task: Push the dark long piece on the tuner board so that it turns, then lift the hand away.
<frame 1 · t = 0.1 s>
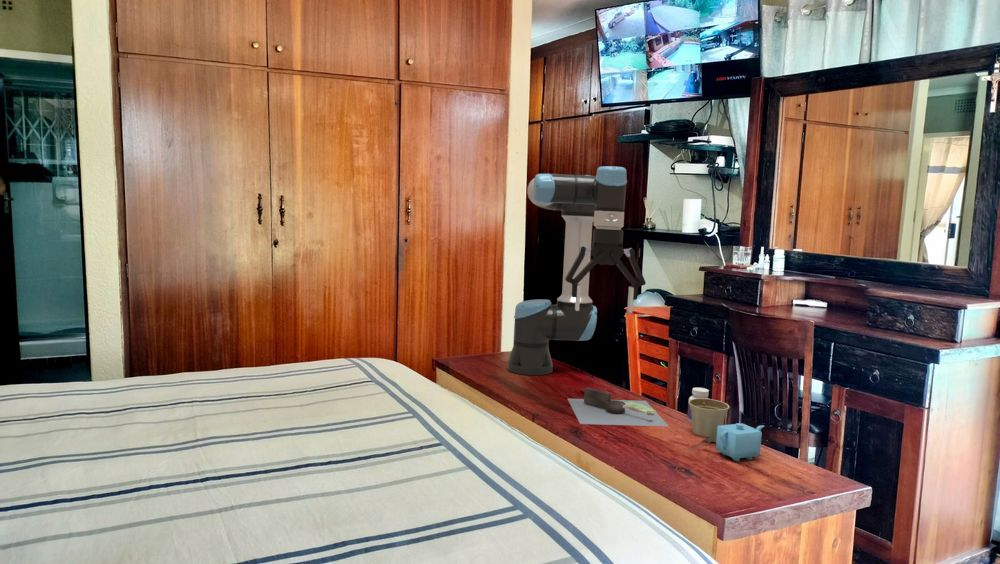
hand: (603, 311, 174), 28 cm above the bench, fingers open, 13 cm apart
tuner board: (614, 417, 177), on the bench
teapot: (740, 457, 152), on the bench
flower pot: (706, 439, 163), on the bench
pill bottle: (697, 427, 172), on the bench
dark long piece: (618, 403, 176), point 4 cm above the bench, hinge at -135.0°
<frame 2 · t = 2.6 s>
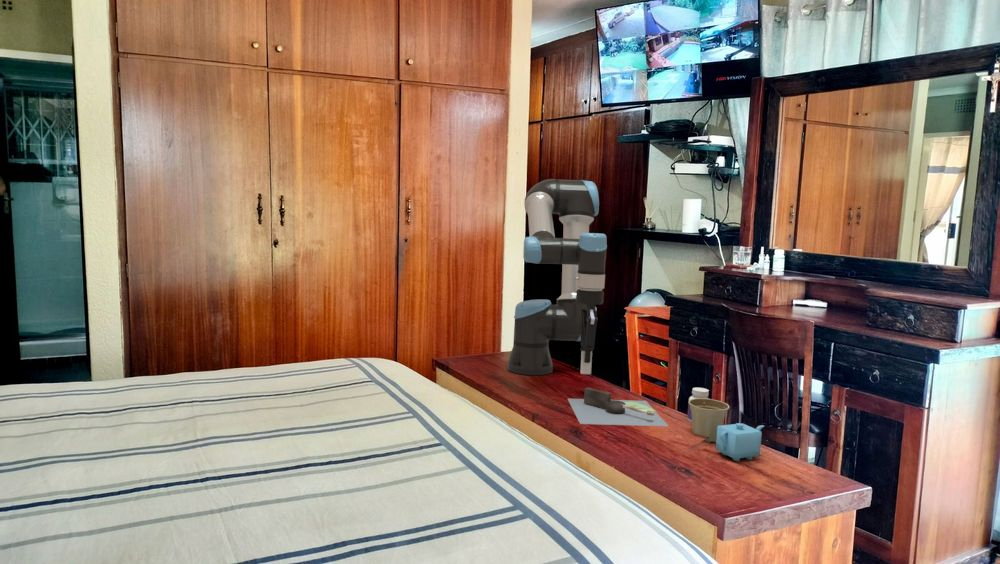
hand: (585, 373, 188), 8 cm above the bench, fingers closed
nothing on the bench moved.
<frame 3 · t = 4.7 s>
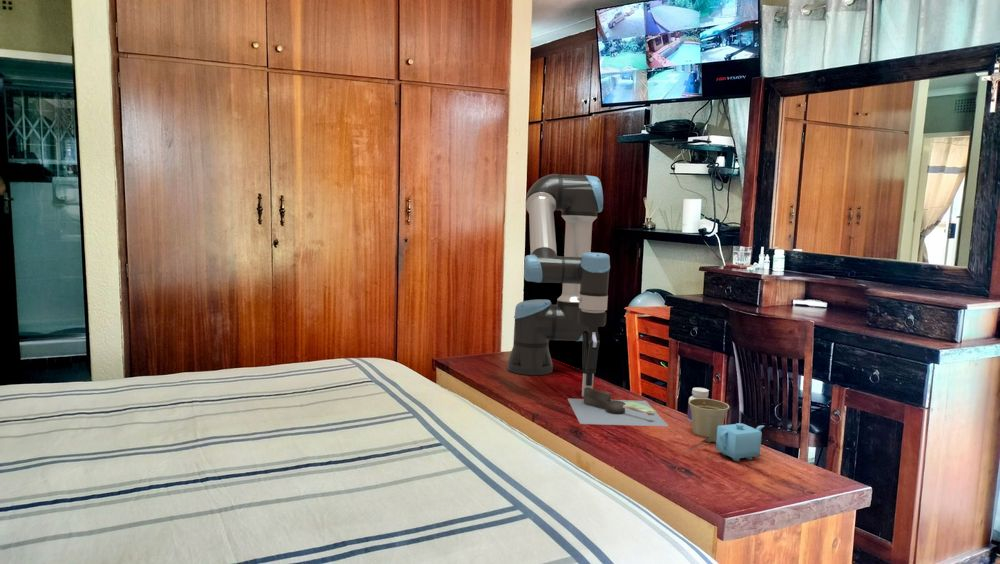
hand: (587, 396, 184), 3 cm above the bench, fingers closed
dark long piece: (618, 403, 176), point 4 cm above the bench, hinge at -134.4°, touching gripper
everything else where it was.
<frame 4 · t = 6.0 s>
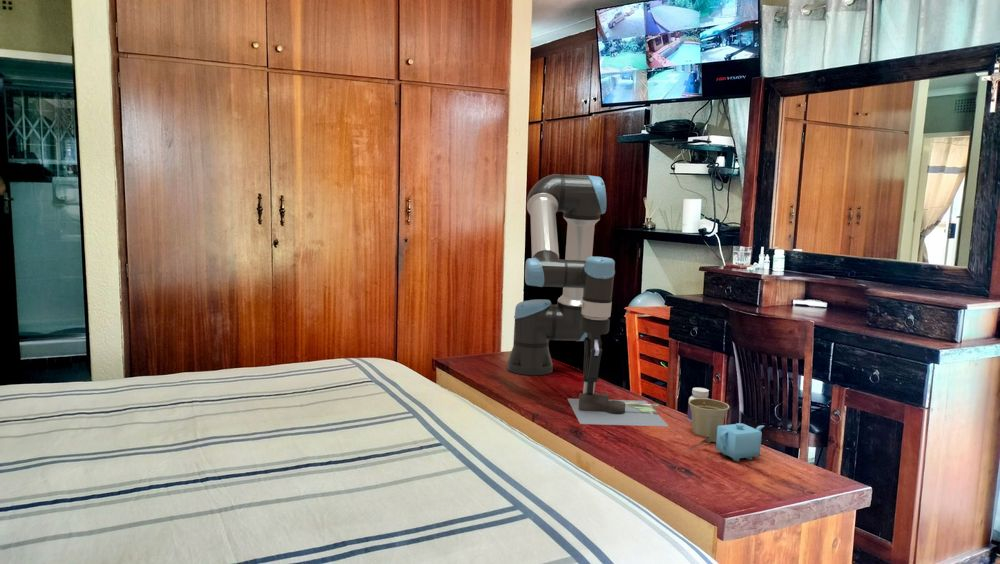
hand: (587, 404, 178), 3 cm above the bench, fingers closed
dark long piece: (619, 403, 177), point 4 cm above the bench, hinge at -93.4°, touching gripper
everything else where it was.
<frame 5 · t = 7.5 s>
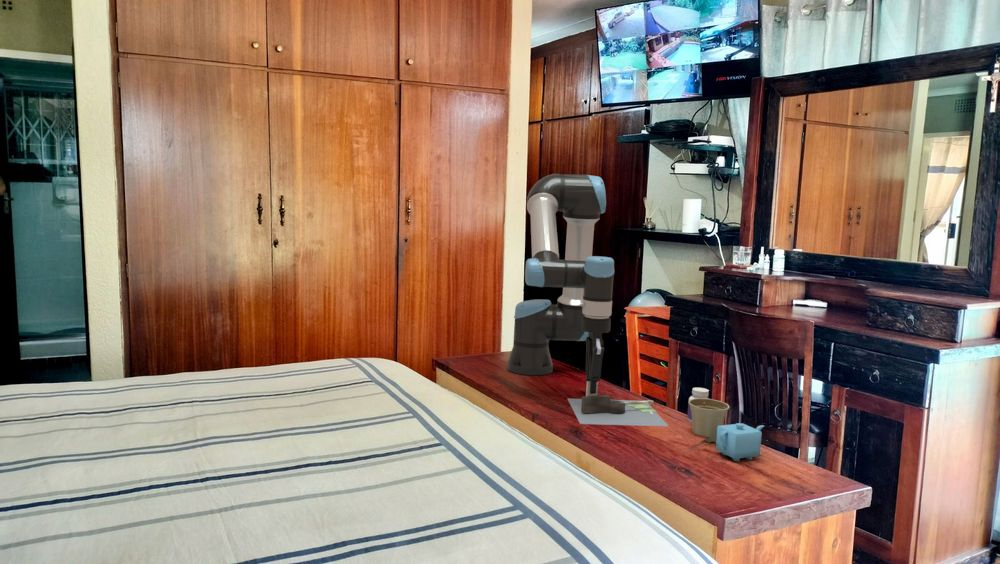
hand: (591, 404, 179), 3 cm above the bench, fingers closed
dark long piece: (618, 402, 177), point 4 cm above the bench, hinge at -73.7°
everything else where it was.
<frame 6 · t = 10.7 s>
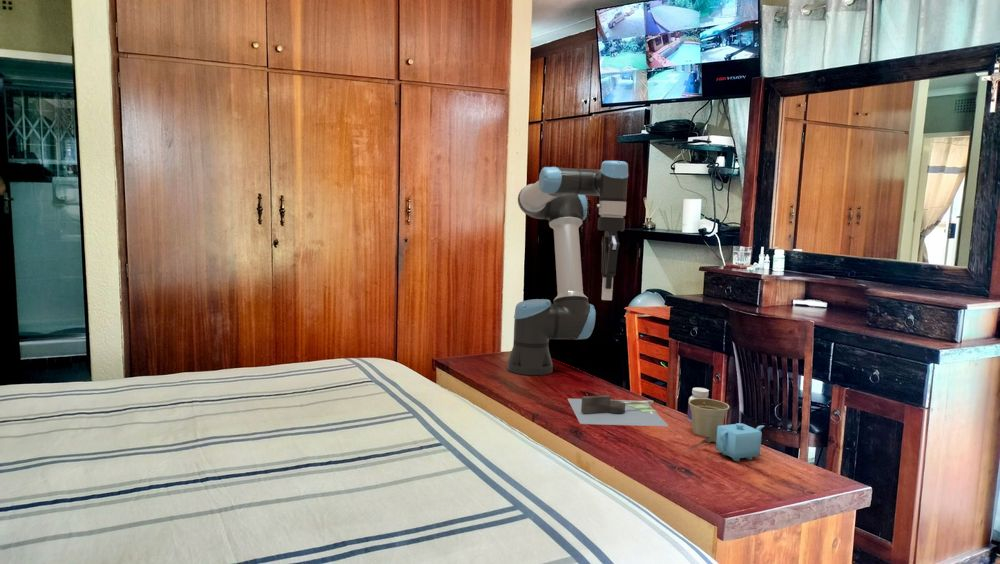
hand: (606, 299, 193), 28 cm above the bench, fingers closed
nothing on the bench moved.
at the end: dark long piece at -74° (first picture: -135°) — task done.
